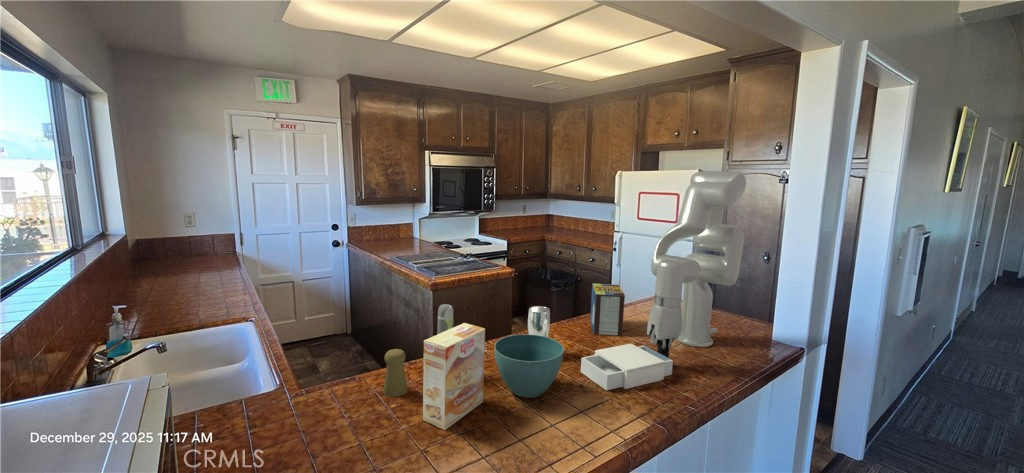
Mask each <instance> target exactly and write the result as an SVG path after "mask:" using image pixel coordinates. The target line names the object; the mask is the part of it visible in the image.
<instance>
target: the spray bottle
mask: <svg viewBox="0 0 1024 473" xmlns="http://www.w3.org/2000/svg"><path fill="white" fill-rule="evenodd" d="M437 310H438V311H437V328H436V329H437V331H436V332H437V334H436V335H438V334H440V333H442V332H444V331H447V330H449V329H451V328H454V327H455V326H454V325H455V323H454V322H455V321H454V320H455V319H454V308H453V306H452V305H450V304H447V303H443V304H440V305H439V307H438V309H437Z"/></svg>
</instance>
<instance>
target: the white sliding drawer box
mask: <svg viewBox="0 0 1024 473" xmlns="http://www.w3.org/2000/svg"><path fill="white" fill-rule="evenodd" d="M638 347H639V348H641V349H642V350H644V351H646V352H648V353H650V354H652V355H654V356H656V357H658V358H660V359H661V360H663V361H665V368H664V377H667V376H671V375H673V365H674V360H673V359H671V358H667V357H665V356H663V355H662V354H660V353H658V352H657V350H656V351H655V350H653V349H652V348H649V347H647V346H646V345H640V346H638ZM580 361H581V362H580V373H581V374H583V375H584V376H586V377H587V378H588V379H590V380H591V381H592V382H594V383H595V384H596V385H598V386H600V387H601V388H602V389H604V390H605V391H610V390H614V389H619V388H624V375H625V371H623V370H621V369H620V368H618V367H617V366H615V365H613V364H612V363H610V362H609V361H607V360H605V359H604V358H602V357H601V356H599V355H595V354H593V355H589V356H584V357H581V359H580Z"/></svg>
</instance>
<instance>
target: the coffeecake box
mask: <svg viewBox="0 0 1024 473" xmlns="http://www.w3.org/2000/svg"><path fill="white" fill-rule="evenodd" d="M485 342H486V328H484V327H481V326H477V325H474V324H470V323H466V322H463V323H461V324H458V325H456V326H454V328H451V329H449V330H447V331H444V332H442V333H440V334H438V335H437V334H436V335H433V336H431V337H429V338H427V339H424V340H423V378H422V379H423V381H422V384H423V388H422V389H423V390H422V392H423V394H422V398H423V400H422V405H423V406H422V410H423V411H422V421H424V422H426V423H429V424H431V425H433V426H435V427H436V428H439V429H441V430H443V431H446V430H447V429H448V428H450V427H451V426H453V425H454V424H455V423H456V422H458V421H460V420H461V419H462V418H464V417H465V416H466V415H468V414H469V413H470V412H471V411H473V410H474V409H475V408H477V407H478V406H480V405H481V404H482V403H484V383H485V382H484V376H485V374H484V373H485V350H486V349H485V348H486V347H485V344H486V343H485Z"/></svg>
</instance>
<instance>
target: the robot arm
mask: <svg viewBox="0 0 1024 473" xmlns="http://www.w3.org/2000/svg"><path fill="white" fill-rule="evenodd" d="M689 181H690V182H689V183H690V184H689V185H688V187H687V188H686V190H685V193H684V198H683V201H682V204H681V209H680V213H679V214H678V219H677V222H676V224H675V225H674V226H672V227H671V228H670V229H668V230H667V231H666V232H665V233H664V234H663V235H662V236H661V237H660V239H658V241H657V243H656V244H655V248H654V252H653V255H652V257H651V258H652V259H651V262H650V263H651V265H650V271H651V272H652V274H653V276H655V277H656V278H655V290H654V302H653V304H652V305H651V308H650V311H649V316H648V321H647V328H646V334H647V336H648V337H649V336H650V338H649V342H650V343H652V344H654V345H655V346H657V348H656V349H657V350H656V352H658V353H660V354H662V355H663V356H665V357H667V358H669V355H670V348H672V343H674V341H677V342H679V343H681V344H684V345H686V346H690V347H691V346H692V347H694V348H695V347H697V348H708V347H711V346H713V344H714V340H713V338H712V337H711V335H714V334H717V333H718V329H717V328H716V327H711V319H712V318H711V317H712V308H713V307H712V306H713V298H714V295H713V290H712V289H711V287H710V285H709V284H708V283H711V284H715V285H716V284H717V285H721V286H722V285H723V286H733V285H735V283H736V282H737V281H738V278H739V275H740V274H739V273H740V266H741V263H742V261H741V260H742V255H743V250H744V242H745V234H744V231H743V230H742V228H741V227H739V226H737V225H731V224H723V219H724V215H725V214H724V213H725V210H730V209H731V208H733V206H735V204H736V203H737V202H738V201H739V199H741V197H742V196H743V194H744V193H745V191H746V186H747V179H746V176H745V174H743V173H742V172H741V171H717V170H716V171H715V170H704V171H698V172H695V173H693V174H692V175H691V176H690V180H689ZM691 237H692V244H693V246H694V247H695V248H697V249H699V250H704V251H712V252H719V253H724V254H725V255H724V256H723V255H717V254H709V253H701V252H691V253H689V254H687V255H686V256H685V257H682V256H676V255H671V254H670V255H669V254H667V253H668V251H669V249H670V248H671V246H673V245H674V244H676V243H677V242H679V241H682V240H685V239H688V238H691ZM682 294H683V296H682ZM669 359H670V358H669Z"/></svg>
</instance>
